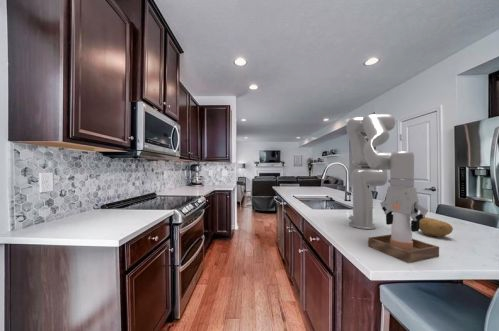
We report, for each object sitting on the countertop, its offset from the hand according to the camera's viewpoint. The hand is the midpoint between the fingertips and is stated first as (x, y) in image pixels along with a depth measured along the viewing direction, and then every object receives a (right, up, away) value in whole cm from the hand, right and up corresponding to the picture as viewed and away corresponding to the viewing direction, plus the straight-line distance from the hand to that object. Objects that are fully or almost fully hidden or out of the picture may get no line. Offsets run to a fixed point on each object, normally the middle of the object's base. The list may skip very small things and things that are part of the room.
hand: (401, 227), depth 83 cm
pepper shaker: (0, -8, 0) cm, 9 cm away
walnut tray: (0, -9, 0) cm, 9 cm away
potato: (+28, -9, +19) cm, 35 cm away
